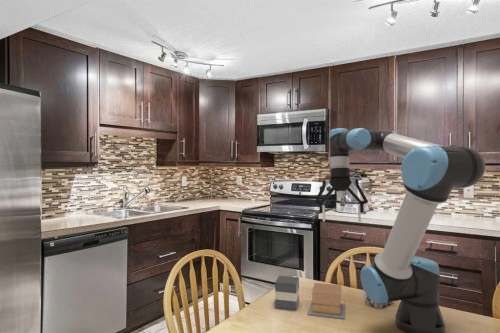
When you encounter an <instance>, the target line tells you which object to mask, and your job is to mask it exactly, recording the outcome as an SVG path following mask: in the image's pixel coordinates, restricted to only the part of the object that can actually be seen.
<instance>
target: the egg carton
mask: <svg viewBox="0 0 500 333" xmlns="http://www.w3.org/2000/svg"><path fill="white" fill-rule="evenodd" d="M363 298H364V299H365V304H366V305H367V306H373V307H374V309H383V307H387V306H388V305H393V301H392V302H387V303H376V302H373V301H372V300H370V299H369V298H368V296H367V295H366V294H365V295H364V297H363Z"/></svg>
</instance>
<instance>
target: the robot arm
mask: <svg viewBox="0 0 500 333" xmlns="http://www.w3.org/2000/svg"><path fill="white" fill-rule="evenodd" d="M328 141H329V143H328V144H329V166H330V170H329V171H330V180H326V179H325V180H324V179H323V180H322V185H321V187H320V190H319V192H318V194H317V195H316V198H315V200H314V203H315V204H316V205H319V213H320V214H322V222H323V223H324V222H326V205H325V204H324V203H325V202H326V201H327V200H328V199H329V197H330V196H331V195H332V194H333V193H334V191H335V192H340V191H341V192H346V191H348V193H349V194H350V195H352V198H354V199H355V200H356V201H357V203H359V204H358V205H357V213H358V214H357V215H358V217H357V218H358V222H359V223H360V222H361V218H362V216H361V214H363V213H364V205H366V204H368V203H369V200H368V197H366V195H365V192H364V191H363V190H362V187H361V186H360V184H359V183H360V182H359V180H358V179H357V178H356V179H354V180H351V170H350V168H349V167H351V166H350V152H351V151H381V152H384V153H388V154H389V155H390V154H391V155H394V156H395V157H399V158H402V159H403V160H402V163H401V166H400V172H401V173H402V174H401V175H400V177H401V180H402V182H403V188H404V190H405V191H406V193H405V196H404V198H403V200H402V203H401V206H400V208H399V211H398V213H397V215H396V218H395V221H394V223H393V225H392V228H391V230H390V233H389V235H388V237H387V240H386V242H385V246H384V248H383V251H382V252H379V253H377V254H376V255H375V256H374V258H373V261H372V264H369V265H368V264H367V265H365V266H363V267H362V268H361V270H360V283H361V286H362V290H363V292H364V293H365V295H367V296H368V298H369V299H370V300H372V301H373V302H376V303H387V302H392V303H393V302H397V301H400V302H399V305H398V307H397V310H396V313H395V319H394V320H395V324H396V326H397V327H398V328H399V329H400V330H402V331H403V332H406V333H445V332H446V323H445V320H444V318H443V314H442V311H441V308H440V281H441V279H440V278H441V277H440V276H441V274H440V267H439V264H438V263H437V262H436V261H435V260H432V259H429V258H426V257H423V256H422V257H421V256H418V255H416V253H417V251H418V249H419V247H420V244H421V242H422V240H423V238H424V236H425V234H426V231H427V229H428V227H429V224H430V223H431V220H432V219H433V217H434V214H435V212H436V210H437V208H438V205H439V204H443V203H445V202H447V201H448V199H449V197H450V194H451V192H452V190H454V189H466V188H469V187H473V186H474V185H475V184H477V183H478V182H480V181H481V180H482V178H483V176H484V175H485V171H486V162H485V160H484V157H483V155H481V153H480V152H479V151H477V150H476V149H474V148H472V147H467V146H462V145H461V146H459V145H455V144H450V145H442V144H437V143H433V142H430V141H426V140H421V139H418V138H414V137H410V136H405V135H401V134H398V133H397V132H396V131H392V130H369V129H366V128H363V127H359V128H353V129H351V130H349V129H347V128H343V127H342V128H340V127H339V128H332V129H331V130H330V131H329V139H328ZM352 184H353V186H355V187H356V189H357V191H358V193H359V195H360V196H361V198H362V200H361V198H359V196H358V195H357V194H356V193H355V192H354V190H352V189H351V188H350V186H351V185H352ZM328 185H330V186H331V188H330V189H329V191H328V192H326V194H325V195H324V197H323V198H322V199H321V197H322V195H323V193H324V191H325V189H326V186H328Z"/></svg>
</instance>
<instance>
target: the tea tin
mask: <svg viewBox="0 0 500 333" xmlns="http://www.w3.org/2000/svg"><path fill="white" fill-rule="evenodd" d="M299 304H300V277H298V276H289V275H288V276H287V275H278V277H277V278H276V280H275V282H274V308H275V309H278V310H285V311H294V312H296V311H297V310H298V306H299Z"/></svg>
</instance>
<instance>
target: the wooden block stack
mask: <svg viewBox="0 0 500 333" xmlns="http://www.w3.org/2000/svg"><path fill="white" fill-rule="evenodd" d="M311 300H312V312H313V313H322V314H331V315H339V316H340V312H341V303H342V285H341V284H331V283H330V284H329V283H321V282H320V283H319V282H314V285H313V288H312V291H311Z"/></svg>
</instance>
